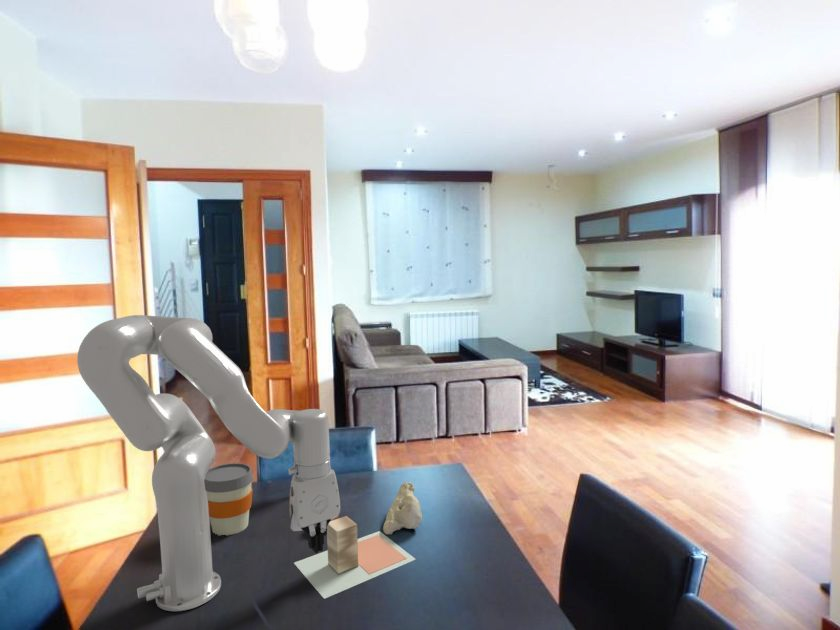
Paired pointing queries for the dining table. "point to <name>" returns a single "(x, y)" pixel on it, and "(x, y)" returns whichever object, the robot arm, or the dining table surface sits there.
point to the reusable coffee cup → (229, 497)
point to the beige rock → (403, 510)
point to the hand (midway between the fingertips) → (316, 549)
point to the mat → (372, 561)
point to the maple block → (342, 545)
